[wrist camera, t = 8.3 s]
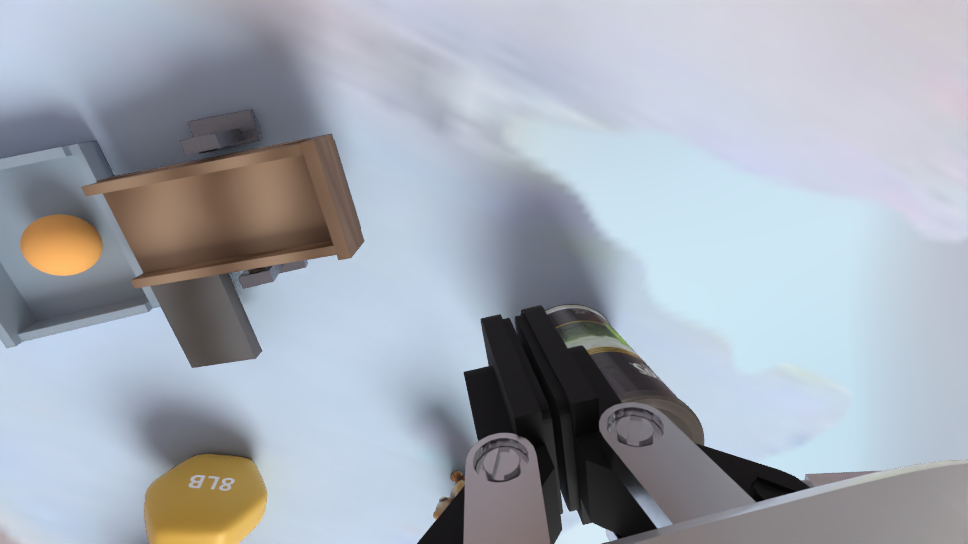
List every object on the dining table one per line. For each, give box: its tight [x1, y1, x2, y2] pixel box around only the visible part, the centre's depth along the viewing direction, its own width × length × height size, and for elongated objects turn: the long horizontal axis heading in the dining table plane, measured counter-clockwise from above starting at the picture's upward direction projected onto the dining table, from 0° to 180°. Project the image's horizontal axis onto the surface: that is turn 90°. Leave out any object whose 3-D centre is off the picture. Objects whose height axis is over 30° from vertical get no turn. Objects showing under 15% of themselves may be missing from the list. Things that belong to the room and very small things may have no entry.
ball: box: [20, 214, 103, 276], centre depth 30 cm, size 4×4×4 cm
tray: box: [0, 141, 160, 348], centre depth 31 cm, size 10×12×3 cm
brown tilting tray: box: [81, 134, 364, 368], centre depth 31 cm, size 15×14×4 cm
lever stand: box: [180, 110, 308, 289], centre depth 31 cm, size 4×12×6 cm, turn 11°
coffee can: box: [545, 305, 704, 446], centre depth 37 cm, size 10×10×14 cm
